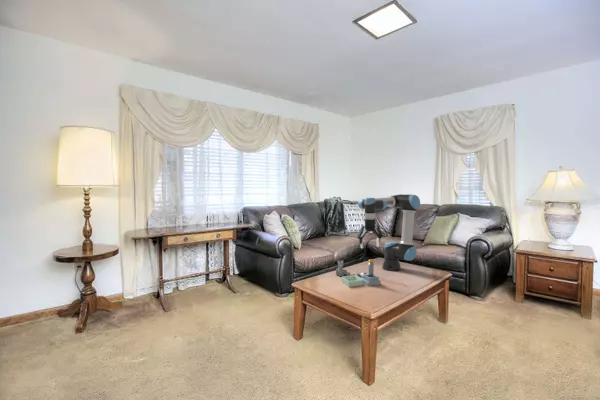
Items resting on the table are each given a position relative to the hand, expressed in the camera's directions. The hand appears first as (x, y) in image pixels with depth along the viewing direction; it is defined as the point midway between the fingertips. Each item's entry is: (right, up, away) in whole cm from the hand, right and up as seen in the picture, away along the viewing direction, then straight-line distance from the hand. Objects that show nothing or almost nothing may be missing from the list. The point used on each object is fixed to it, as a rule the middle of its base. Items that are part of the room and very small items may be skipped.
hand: (369, 247), depth 214 cm
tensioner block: (0, -26, +5) cm, 27 cm away
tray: (-13, -27, +1) cm, 30 cm away
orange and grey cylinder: (+1, -24, +1) cm, 24 cm away
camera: (-16, -26, +18) cm, 35 cm away
